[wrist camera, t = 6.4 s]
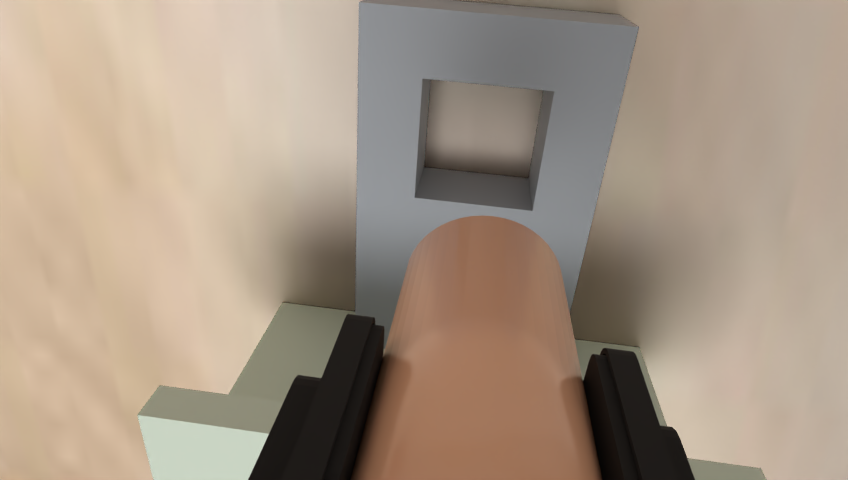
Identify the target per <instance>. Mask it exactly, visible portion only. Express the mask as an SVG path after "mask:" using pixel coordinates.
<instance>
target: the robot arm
mask: <svg viewBox="0 0 848 480" xmlns="http://www.w3.org/2000/svg"><path fill="white" fill-rule="evenodd" d="M383 349H384V326H381V325H375V318H374V317H369V316H361V315H353V314H347V315H346V317H345V319H344V322H343V324H342V327H341V330H340V332H339V335H338V337H337V340H336V342H335V345H334V347H333V350H332V352H331V355H330V357H329V360H328V363H327V365H326V368H325V370H324V373H323V375H322V378H317V377H310V376H303V375H298V376H296V377H295V379H294V381H293V383H292V384H291V387H290V389H289V391H288V393H287V395H286V398H285V400H284V402H283V404H282V406H281V409H280V411H279V413H278V415H277V417H276V420H275V422H274V424H273V426H272V428H271V431H270V433H269V435H268V437H267V439H266V442H265V444H264V446H263V448H262V450H261V453H260V455H259V457H258V459H257V461H256V464H255V466H254V468H253V470H252V472H251V475H250V477H249V479H248V480H350V479H351V475H352V472H353V468H354V464H355V460H356V457H357V453H358V449H359V445H360V442H361V438H362V434H363V430H364V427H365V423H366V419H367V415H368V412H369V408H370V404H371V400H372V397H373V393H374V389H375V385H376V382H377V378H378V374H379V370H380V367H381V363H382V359H383ZM583 384H584V389H585V394H586V399H587V404H588V409H589V414H590V419H591V424H592V430H593V435H594V440H595V445H596V450H597V455H598V460H599V465H600V470H601V475H602V480H695V478H694V475H693V473H692V470H691V467H690V465H689V462H688V459H687V456H686V454H685V451H684V448H683V445H682V443H681V440H680V438H679V436H678V434H677V432H676V430H675V429H673V428H672V427H667V426H660V424H659V421H658V418H657V415H656V412H655V409H654V406H653V403H652V400H651V397H650V394H649V391H648V388H647V385H646V382H645V379H644V376H643V373H642V370H641V367H640V364H639V362H638V359H637V356H636V354H635V353H634V352H633V351H625V350H618V349H610V348H603V349H602V351H601V353H600V355H598V354H592V355H591V357H590V359H589V363H588V366H587V370H586V373H585V377H584V380H583Z"/></svg>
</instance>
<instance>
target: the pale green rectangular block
mask: <svg viewBox="0 0 848 480" xmlns="http://www.w3.org/2000/svg"><path fill="white" fill-rule="evenodd" d="M347 314H353V315H355V311H347V310H339V309H331V308H323V307H315V306H307V305H299V304H291V303H282V304H281V306H280V308H279V309H278V311H277V313H276V315H275V316H274V318H273V320H272V321H271V323H270V325H269V326H268V328H267V330H266V332H265V333H264V335H263V337H262V338H261V340H260V342H259V343H258V345H257V347H256V349H255V350H254V352H253V354H252V355H251V357H250V359H249V361H248V362H247V364H246V366H245V367H244V369H243V371H242V372H241V374H240V376H239V378H238V379H237V381H236V383H235V384H234V386H233V388H232V389H231V391H230V393H229V395H227V394H219V393H212V392H205V391H198V390H190V389H183V388H176V387H169V386H161V385H160V386H159V387H158V388H157V390H156V391H155V392H154V394H153V395H152V396H151V398H150V399H149V400H148V402H147V403H146V404H145V406H144V407H143V408H142V409H141V411H140V412H139V413H138V415H137V416H138V420H139V424H140V428H141V432H142V436H143V440H144V444H145V448H146V452H147V456H148V460H149V464H150V468H151V472H152V476H153V480H248V479H249V477H250V475H251V472H252V470H253V468H254V466H255V464H256V461H257V459H258V457H259V455H260V453H261V450H262V448H263V446H264V444H265V442H266V439H267V437H268V435H269V433H270V431H271V428H272V426H273V424H274V422H275V420H276V417H277V415H278V413H279V411H280V409H281V406H282V404H283V402H284V400H285V398H286V395H287V393H288V391H289V389H290V387H291V384H292V383H293V381H294V379H295V377H296V376H298V375H303V376H310V377H317V378H322V375H323V373H324V370H325V368H326V365H327V363H328V360H329V357H330V355H331V352H332V350H333V347H334V345H335V342H336V340H337V337H338V335H339V332H340V330H341V327H342V324H343V322H344V319H345V317H346V315H347ZM575 344H576V349H577V354H578V359H579V364H580V369H581V374H582V379H583V380H584V377H585V373H586V370H587V366H588V363H589V359H590V357H591V355H592V354H598V355H600V353H601V351H602V349H603V348H610V349H618V350H625V351H633V352H634V353H635V354H636V356H637V359H638V362H639V364H640V367H641V370H642V373H643V376H644V379H645V382H646V385H647V388H648V391H649V394H650V397H651V400H652V403H653V406H654V409H655V412H656V415H657V418H658V421H659V424H660V426H667V425H666V422H665V419H664V416H663V413H662V410H661V407H660V405H659V402H658V399H657V396H656V393H655V390H654V387H653V385H652V382H651V379H650V376H649V373H648V370H647V367H646V365H645V362H644V359H643V356H642V353H641V350H640V347H632V346H624V345H616V344H608V343H601V342H593V341H585V340H577V339H575ZM384 350H385V349H383V354H384ZM687 459H688V462H689V465H690V467H691V470H692V473H693V475H694V478H695V480H766V478H765V476H764V474H763V472H762V470H761V468H754V467H747V466H740V465H733V464H725V463H718V462H711V461H704V460H697V459H689V458H687Z"/></svg>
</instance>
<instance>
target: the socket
mask: <svg viewBox="0 0 848 480" xmlns="http://www.w3.org/2000/svg"><path fill="white" fill-rule="evenodd" d="M638 29H639V27H638V26H637V25H635V24H633V23H632V22H630V21H629V20H627V19H625V18H624V17H622V16H620V15H618V14H606V13H595V12H583V11H572V10H560V9H549V8H538V7H526V6H515V5H503V4H492V3H480V2H469V1H457V0H363V1H361V2H359V44H358V125H357V207H356V288H355V315H361V316H369V317H374V318H375V325H381V326H384V349H385V346H386V343H387V339H388V335H389V331H390V328H391V324H392V320H393V317H394V313H395V309H396V305H397V302H398V298H399V294H400V290H401V287H402V283H403V279H404V276H405V272H406V268H407V265H408V262H409V259H410V257H411V255H412V253H413V251H414V249H415V248H416V246H417V245H418V244H419V243H420V241H421V240H422V239H423V238H424V237H425V236H426V235H428V234H429V233H430V232H431V231H433V230H434V229H436V228H437V227H439V226H441V225H443V224H445V223H447V222H450V221H452V220H456V219H459V218H463V217H469V216H482V215H483V216H495V217H501V218H505V219H509V220H512V221H515V222H517V223H520V224H522V225H524V226H526V227H527V228H529V229H531V230H532V231H534V232H535V233H536V234H538V235H539V236H540V237H541V238H542V239H543V240H544V241H545V242H546V243H547V244H548V245H549V247H550V248H551V249H552V251H553V252H554V254H555V256H556V258H557V260H558V262H559V265H560V269H561V273H562V278H563V283H564V288H565V293H566V298H567V303H568V308H569V313H570V310H571V306H572V302H573V298H574V294H575V290H576V286H577V281H578V277H579V273H580V269H581V265H582V261H583V257H584V253H585V248H586V244H587V240H588V236H589V232H590V228H591V224H592V219H593V215H594V211H595V207H596V203H597V199H598V195H599V190H600V186H601V182H602V178H603V174H604V170H605V166H606V162H607V157H608V153H609V149H610V145H611V141H612V137H613V133H614V128H615V124H616V120H617V116H618V112H619V108H620V104H621V100H622V95H623V91H624V87H625V83H626V79H627V75H628V71H629V66H630V62H631V58H632V54H633V50H634V46H635V42H636V37H637V33H638ZM431 79H432V80H442V81H452V82H463V83H473V84H483V85H493V86H504V87H514V88H524V89H535V90H543V96H542V102H541V107H540V113H539V119H538V125H537V131H536V136H535V142H534V148H533V154H532V160H531V165H530V171H529V177H528V178H521V177H512V176H503V175H493V174H484V173H475V172H466V171H456V170H447V169H438V168H428V167H424V163H425V149H426V136H427V123H428V109H429V96H430V82H431Z"/></svg>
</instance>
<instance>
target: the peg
mask: <svg viewBox="0 0 848 480" xmlns="http://www.w3.org/2000/svg"><path fill="white" fill-rule="evenodd" d="M350 480H602V475H601V470H600V465H599V460H598V455H597V450H596V445H595V440H594V435H593V430H592V424H591V419H590V414H589V409H588V404H587V399H586V394H585V389H584V384H583V379H582V374H581V369H580V364H579V359H578V354H577V349H576V344H575V339H574V334H573V328H572V323H571V318H570V313H569V308H568V303H567V298H566V293H565V288H564V283H563V278H562V273H561V269H560V265H559V262H558V260H557V258H556V256H555V254H554V252H553V251H552V249H551V248H550V247H549V245H548V244H547V243H546V242H545V241H544V240H543V239H542V238H541V237H540V236H539V235H538V234H536V233H535V232H534V231H532V230H531V229H529V228H527V227H526V226H524V225H522V224H520V223H517V222H515V221H512V220H509V219H505V218H501V217H495V216H483V215H482V216H469V217H463V218H459V219H456V220H452V221H450V222H447V223H445V224H443V225H441V226H439V227H437V228H436V229H434V230H433V231H431V232H430V233H429V234H428V235H426V236H425V237H424V238H423V239H422V240H421V241H420V243H419V244H418V245H417V246H416V248H415V249H414V251H413V253H412V255H411V257H410V259H409V262H408V265H407V268H406V272H405V276H404V279H403V283H402V287H401V290H400V294H399V298H398V302H397V305H396V309H395V313H394V317H393V320H392V324H391V328H390V331H389V335H388V339H387V343H386V346H385V350H384V354H383V359H382V363H381V367H380V370H379V374H378V378H377V382H376V385H375V389H374V393H373V397H372V400H371V404H370V408H369V412H368V415H367V419H366V423H365V427H364V430H363V434H362V438H361V442H360V445H359V449H358V453H357V457H356V460H355V464H354V468H353V472H352V475H351V479H350Z"/></svg>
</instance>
